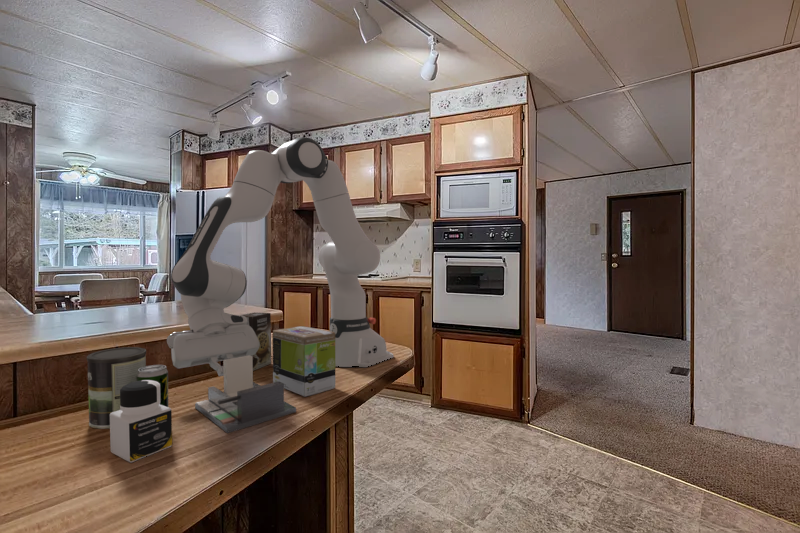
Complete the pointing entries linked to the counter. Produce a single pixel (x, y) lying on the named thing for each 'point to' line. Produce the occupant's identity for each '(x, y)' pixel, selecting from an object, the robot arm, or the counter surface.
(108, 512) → the counter surface
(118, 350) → the coffee can
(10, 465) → the counter surface
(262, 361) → the coffee box
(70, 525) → the counter surface
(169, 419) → the medicine bottle
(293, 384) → the tea box
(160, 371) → the green drink can
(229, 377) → the plunger
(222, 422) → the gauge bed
